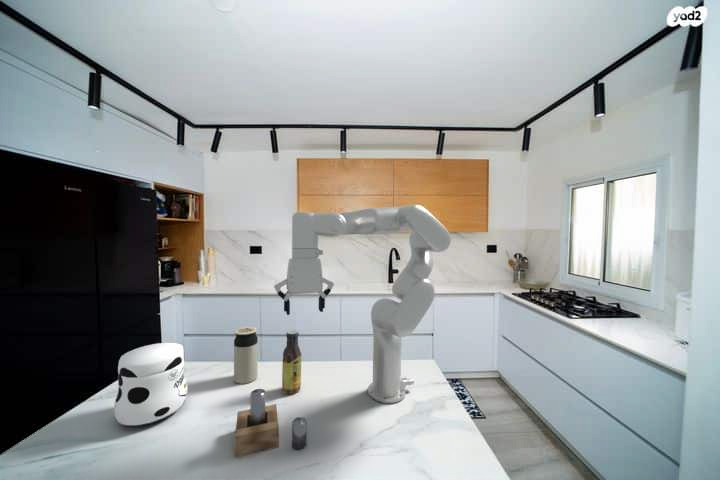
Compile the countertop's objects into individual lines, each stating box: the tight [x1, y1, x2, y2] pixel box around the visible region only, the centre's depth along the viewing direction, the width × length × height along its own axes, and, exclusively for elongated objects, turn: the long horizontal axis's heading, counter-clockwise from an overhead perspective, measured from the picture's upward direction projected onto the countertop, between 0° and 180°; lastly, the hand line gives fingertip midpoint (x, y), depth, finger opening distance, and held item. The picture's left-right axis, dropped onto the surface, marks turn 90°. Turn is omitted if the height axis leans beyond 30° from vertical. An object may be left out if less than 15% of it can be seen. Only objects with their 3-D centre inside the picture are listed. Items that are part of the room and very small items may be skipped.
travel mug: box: [233, 326, 259, 385], centre depth 103 cm, size 8×8×18 cm
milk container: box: [113, 342, 188, 427], centre depth 83 cm, size 17×17×18 cm
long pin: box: [249, 388, 266, 427], centre depth 73 cm, size 4×4×12 cm
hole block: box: [234, 404, 280, 458], centre depth 73 cm, size 10×10×5 cm
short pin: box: [291, 416, 308, 451], centre depth 71 cm, size 4×4×6 cm
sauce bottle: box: [281, 329, 302, 395], centre depth 95 cm, size 7×6×20 cm
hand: (304, 312), depth 83 cm, fingers open, 9 cm apart
